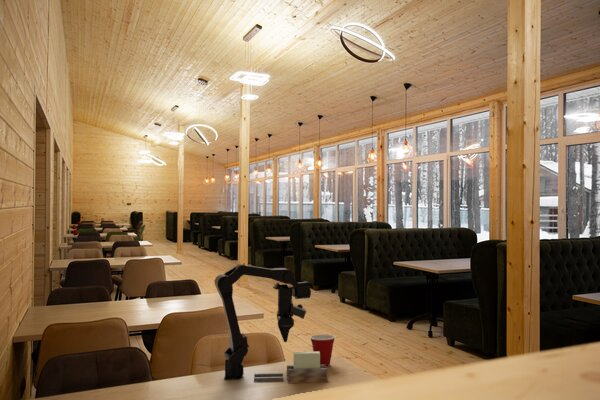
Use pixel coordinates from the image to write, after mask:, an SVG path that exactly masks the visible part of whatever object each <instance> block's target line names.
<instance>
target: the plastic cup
mask: <svg viewBox="0 0 600 400" xmlns="http://www.w3.org/2000/svg"><path fill="white" fill-rule="evenodd" d="M309 339H310V341H311V345H312V350H313V351H312V352H317V351H319V352H320V365H325V366H328V365H329V366H330V364H331V359H332V354H333V350H334V348H333V347H334V342H335V339H336V335H333V334H313V335H311V336H309ZM329 366H328V367H329Z"/></svg>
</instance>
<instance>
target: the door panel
mask: <svg viewBox="0 0 600 400" xmlns="http://www.w3.org/2000/svg"><path fill="white" fill-rule="evenodd" d="M293 365H294V369H313V368H320V352H319V351H317V352H313V351H293Z"/></svg>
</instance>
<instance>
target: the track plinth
mask: <svg viewBox="0 0 600 400" xmlns="http://www.w3.org/2000/svg"><path fill="white" fill-rule="evenodd" d="M285 372H286V381H287V384H296V383H297V384H299V383H300V384H301V383H307V384H308V383H328V382H329V377H328V368H327V367H325V365H320V368H313V369H294V364H292V365H290V364H289V365H288V364H287V365H286V371H285Z"/></svg>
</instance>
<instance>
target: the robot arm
mask: <svg viewBox="0 0 600 400" xmlns="http://www.w3.org/2000/svg"><path fill="white" fill-rule="evenodd" d="M243 276H250V277H256V278H257V277H258V278H264V279H270V280H275V281H277V282H276V284H274V285H273V287H272V289H274V290H277V311H276V320H277V326H278V327H277V328H278V330H279V333H280V335H281V338H282V340H283V343H287V342H288V338H289V334H290V330H291V329H292V328H294V326H295V320H294V318H293V317H294V316H296V317H298V318H300V319H302V320H303V319H304V318H305V316H306V313H307V309H306V308H303V304H300V303H298V304H297V305H294V303H293V298H294V299H295V300H304V299H310V298H311V294H312V290H311V286H310V285H309V284H310V283H309V281H302V282H301V281H300V282H299V281H297V280H296V278H295V274H294V272H293V270H291V269H288V268H285V267H278V268H277V267H274V268H267V267H259V266H254V265H246V264H243V263H238V264H236V266H234V267H233V268H231V269H229V270H227V271H226V272H225V273H223V274H219V275H218V274H217V276H216V277H215V279H214V281H213V282H214V286H215V288H216V290H217V292H218V294H219V297H220V298H221V301H222V306H223V310H224V314H225V318H226V323H227V327H228V331H229V339H228V340H229V341H228V342H229V347H228V348H227V349H225V351H224V353H223V355H224V357H225V361H224V377H223V379H224V380H241V379H242V377H243V376H244V363H243V361H244V359H245V357H246V356H247V355H248V352H249V348H250V345H249V344H248V337H247V336H246V334H244V333H243V332H242V333H241V329H240V324H239V320H238V316H237V312H236V308H235V303H234V299H233V296H234V294H233V293H234V289H233V288H234V287H233V285H234V284H235V283H237V281H239V279H241V277H243ZM280 283H282V284H280ZM288 285H289V286H288Z"/></svg>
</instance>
